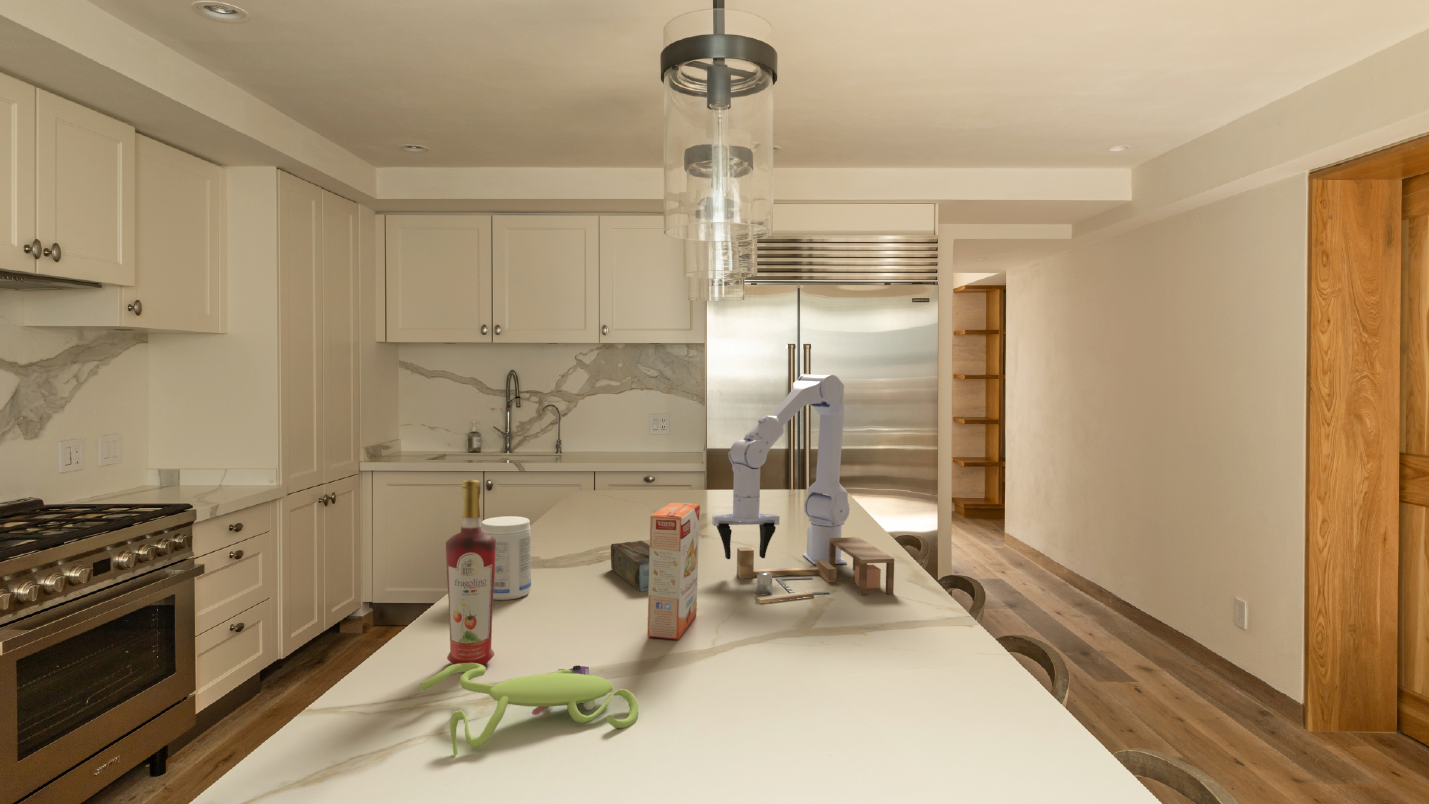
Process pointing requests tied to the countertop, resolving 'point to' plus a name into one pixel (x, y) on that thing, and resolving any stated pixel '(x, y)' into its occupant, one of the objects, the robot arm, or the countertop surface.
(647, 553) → the beverage carton
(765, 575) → the spice tin
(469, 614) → the liquor
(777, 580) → the tape bracket
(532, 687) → the figurine
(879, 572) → the terracotta cube
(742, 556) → the oak crook
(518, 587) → the supplement tub
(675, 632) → the cracker box
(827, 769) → the countertop surface
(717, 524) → the robot arm
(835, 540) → the wooden bench
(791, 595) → the maple bar
